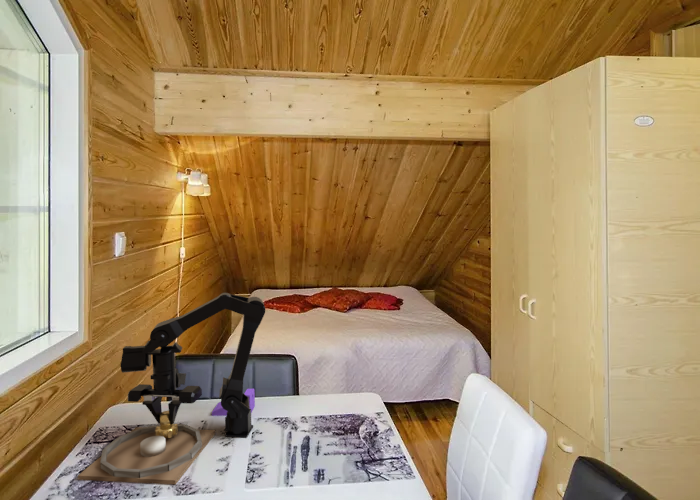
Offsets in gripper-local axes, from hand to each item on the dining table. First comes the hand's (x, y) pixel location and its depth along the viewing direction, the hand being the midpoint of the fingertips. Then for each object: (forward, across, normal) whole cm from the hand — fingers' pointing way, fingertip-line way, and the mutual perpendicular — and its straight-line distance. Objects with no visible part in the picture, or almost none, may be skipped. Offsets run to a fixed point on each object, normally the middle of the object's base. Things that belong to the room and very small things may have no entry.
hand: (166, 423), depth 120 cm
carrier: (+5, 0, +7) cm, 9 cm away
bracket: (+6, -12, -20) cm, 24 cm away
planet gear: (+3, 0, 0) cm, 3 cm away
